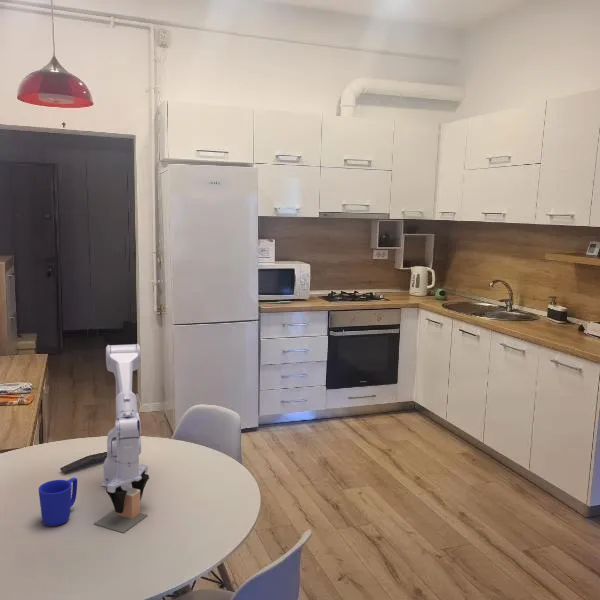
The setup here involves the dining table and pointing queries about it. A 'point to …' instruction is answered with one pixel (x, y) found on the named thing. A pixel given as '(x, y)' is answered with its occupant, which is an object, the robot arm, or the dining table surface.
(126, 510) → the block
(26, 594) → the dining table surface
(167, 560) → the dining table surface
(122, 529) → the mat
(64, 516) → the mug
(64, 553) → the dining table surface
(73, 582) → the dining table surface
